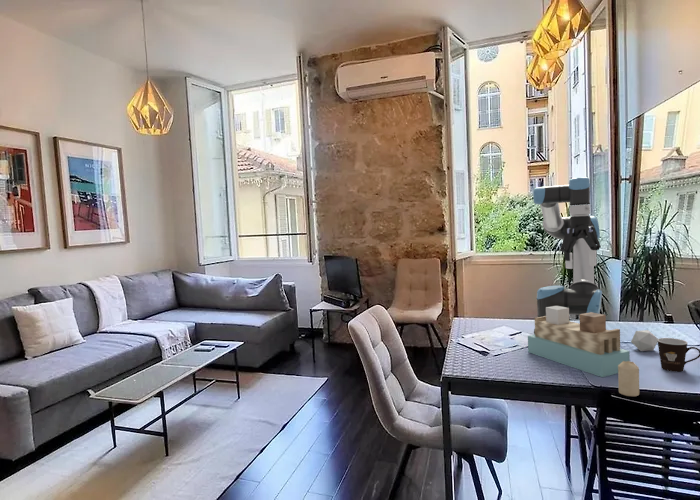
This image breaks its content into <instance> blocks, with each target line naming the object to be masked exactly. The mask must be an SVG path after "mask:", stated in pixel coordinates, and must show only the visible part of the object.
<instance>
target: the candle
mask: <svg viewBox="0 0 700 500" xmlns="http://www.w3.org/2000/svg"><path fill="white" fill-rule="evenodd" d="M617 374H618V375H617V376H618V377H617V378H618V383H617V384H618V393H619V394H621V395H623V396H626V397H637V396H639V395H640V367H639V366H638V365H637V364H636V363H635V362H634V361H631V360H630V361H623V362H622V363H620V364H619V365H618V373H617Z"/></svg>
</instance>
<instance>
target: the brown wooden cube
mask: <svg viewBox="0 0 700 500" xmlns="http://www.w3.org/2000/svg"><path fill="white" fill-rule="evenodd" d="M606 322H607V318H606V314H602V313H599V314H598V313H592V312H590V313H584V314H580V315H579V324H580V330H581V331H586V332H590V333H594V334H595V333H599V332H604V331H606V330H607V325H606Z"/></svg>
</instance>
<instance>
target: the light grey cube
mask: <svg viewBox="0 0 700 500" xmlns="http://www.w3.org/2000/svg"><path fill="white" fill-rule="evenodd" d="M569 321H570V315H569V308H566V307H561V306H551V307H546V322H548V323H552V324H557V325H560V324H565V323H569Z"/></svg>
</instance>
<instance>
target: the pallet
mask: <svg viewBox="0 0 700 500" xmlns="http://www.w3.org/2000/svg"><path fill="white" fill-rule="evenodd" d="M534 329H535V336H536V337H540V338H543V339H547V340H550V341H554V342H557V343H561V344H564V345H568V346H571V347H575V348H578V349H582V350H585V351H588V352H592V353H595V354H599V355H603V354H604V352H607V353H611V352H612V350H614V351H620V349H621V329H620V328H613V329H606V331H604V332H599V333H595V334H594V333H590V332H586V331H581V330H580V322H575V321H571V320H569V323H565V324H560V325H557V324H552V323H548V322H546V316H543V317H538V316H537V317H534Z"/></svg>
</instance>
